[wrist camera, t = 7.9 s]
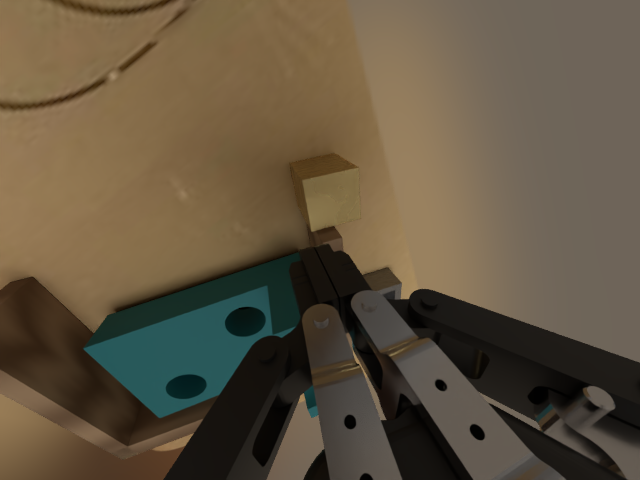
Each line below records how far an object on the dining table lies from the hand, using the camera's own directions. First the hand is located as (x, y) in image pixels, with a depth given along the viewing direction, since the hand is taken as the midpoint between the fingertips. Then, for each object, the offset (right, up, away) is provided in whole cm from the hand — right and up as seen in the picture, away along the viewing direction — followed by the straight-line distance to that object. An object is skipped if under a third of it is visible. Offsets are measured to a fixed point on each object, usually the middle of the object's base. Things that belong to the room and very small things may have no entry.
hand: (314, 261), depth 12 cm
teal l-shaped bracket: (-9, -7, +14) cm, 18 cm away
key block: (0, +6, +9) cm, 11 cm away
